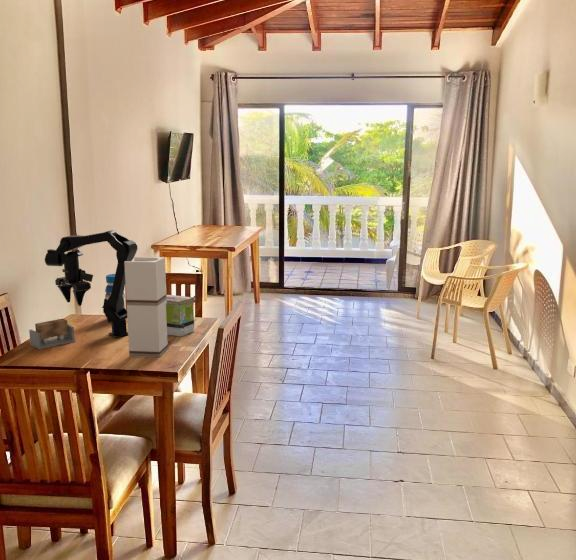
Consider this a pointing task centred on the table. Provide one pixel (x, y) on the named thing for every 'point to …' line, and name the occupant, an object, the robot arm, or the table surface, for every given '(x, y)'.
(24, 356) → the table surface
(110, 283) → the beverage bottle
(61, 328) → the brown rectangular block
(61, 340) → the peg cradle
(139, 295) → the white banded pillar
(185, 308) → the green and white box
